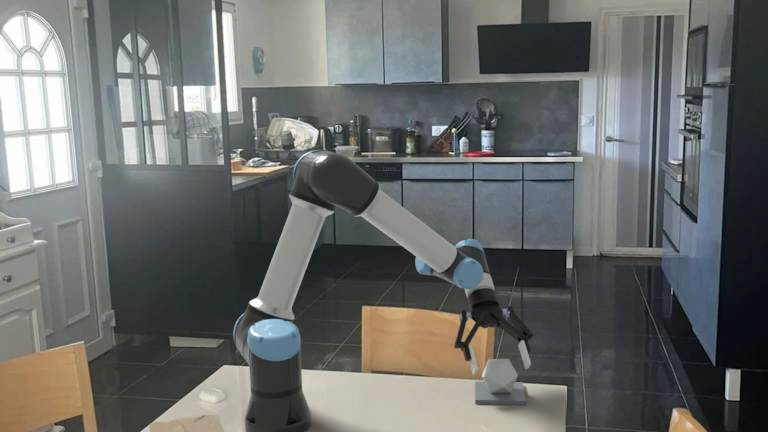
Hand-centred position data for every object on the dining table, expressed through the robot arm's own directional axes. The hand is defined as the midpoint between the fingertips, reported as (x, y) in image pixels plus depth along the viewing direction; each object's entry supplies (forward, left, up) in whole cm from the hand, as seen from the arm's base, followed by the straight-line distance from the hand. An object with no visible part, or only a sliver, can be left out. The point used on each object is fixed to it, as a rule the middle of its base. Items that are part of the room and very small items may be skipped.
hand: (502, 369), depth 190 cm
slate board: (-1, +2, -7) cm, 7 cm away
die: (-1, +2, -6) cm, 7 cm away
